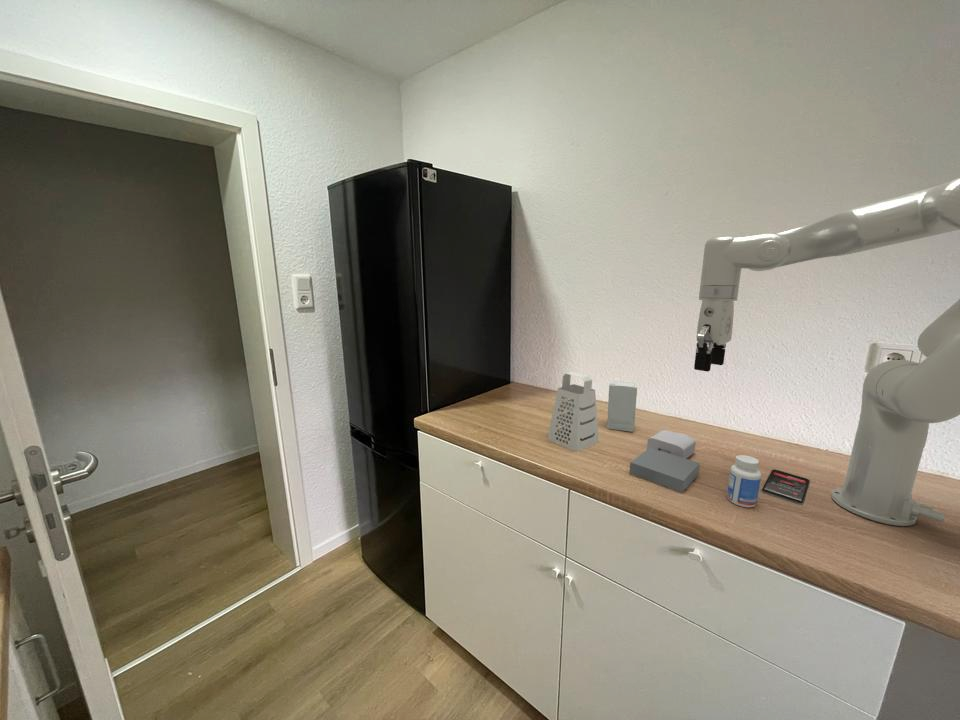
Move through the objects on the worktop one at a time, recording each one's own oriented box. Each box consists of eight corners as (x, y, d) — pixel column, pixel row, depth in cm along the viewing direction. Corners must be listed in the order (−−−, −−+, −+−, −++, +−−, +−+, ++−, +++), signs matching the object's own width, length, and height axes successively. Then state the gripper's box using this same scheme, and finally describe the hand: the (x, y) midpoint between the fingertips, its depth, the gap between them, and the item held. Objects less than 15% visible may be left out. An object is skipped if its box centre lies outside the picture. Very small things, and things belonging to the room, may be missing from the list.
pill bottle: (761, 503, 82) (769, 461, 80) (748, 511, 79) (756, 467, 77) (733, 491, 86) (740, 451, 84) (720, 498, 83) (727, 456, 81)
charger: (702, 448, 109) (681, 464, 99) (668, 438, 115) (646, 452, 106) (704, 432, 108) (683, 447, 98) (670, 423, 114) (648, 436, 105)
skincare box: (634, 426, 124) (639, 382, 121) (633, 433, 118) (638, 387, 115) (607, 422, 127) (611, 379, 124) (605, 428, 121) (609, 383, 118)
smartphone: (810, 479, 92) (802, 504, 81) (809, 482, 92) (802, 507, 81) (772, 468, 97) (760, 490, 86) (772, 471, 97) (760, 493, 86)
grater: (576, 451, 105) (581, 381, 101) (547, 439, 113) (550, 373, 109) (598, 442, 111) (604, 375, 107) (569, 431, 119) (573, 368, 115)
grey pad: (698, 474, 94) (700, 463, 93) (681, 492, 85) (683, 480, 85) (648, 458, 102) (649, 447, 101) (629, 473, 93) (630, 462, 93)
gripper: (725, 295, 79) (715, 376, 82) (747, 293, 90) (737, 364, 94) (686, 294, 84) (678, 370, 87) (712, 292, 95) (703, 360, 99)
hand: (708, 367), depth 90 cm, fingers open, 9 cm apart
